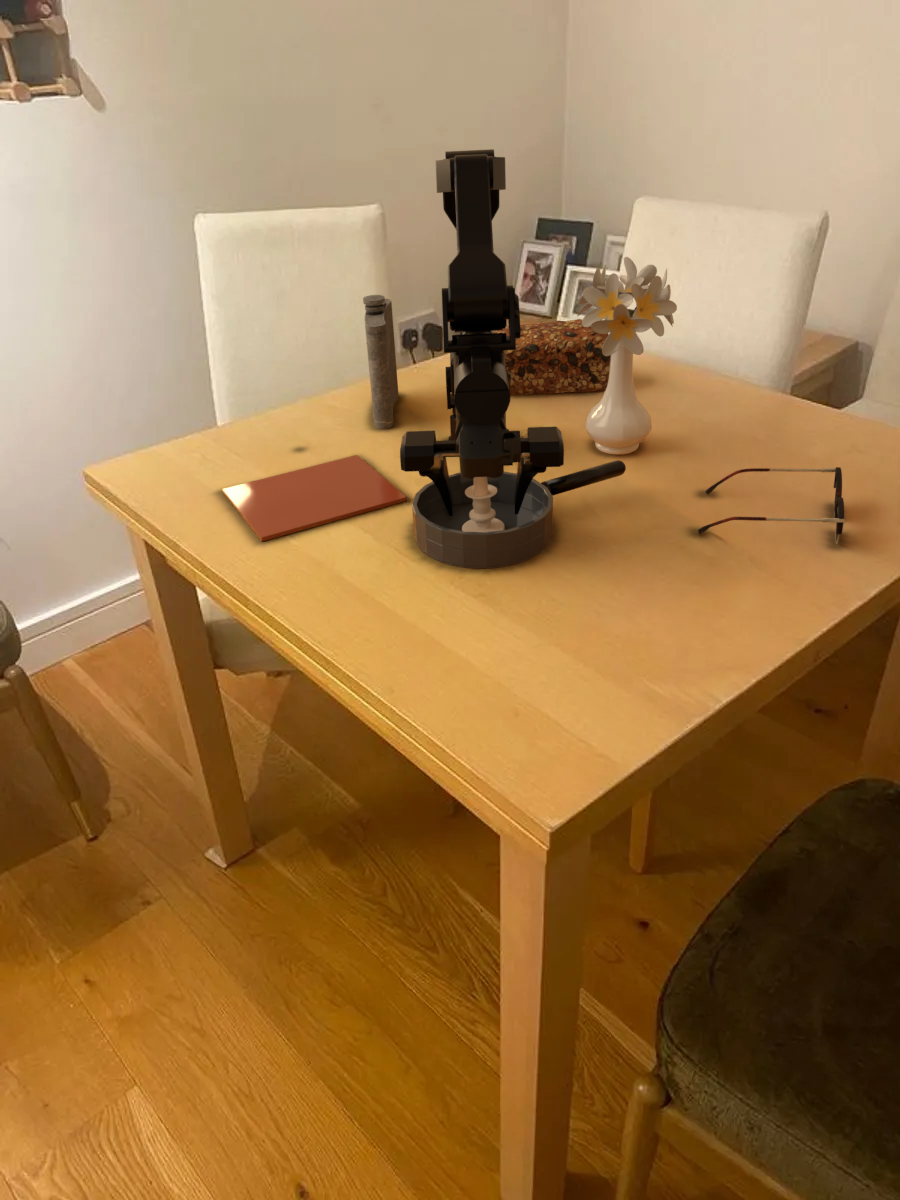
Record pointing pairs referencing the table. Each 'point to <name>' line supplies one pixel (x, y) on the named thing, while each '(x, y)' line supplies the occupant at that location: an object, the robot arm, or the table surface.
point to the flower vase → (623, 350)
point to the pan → (483, 549)
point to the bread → (557, 358)
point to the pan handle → (585, 477)
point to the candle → (482, 508)
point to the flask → (381, 358)
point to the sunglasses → (837, 513)
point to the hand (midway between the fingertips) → (483, 514)
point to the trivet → (311, 497)
